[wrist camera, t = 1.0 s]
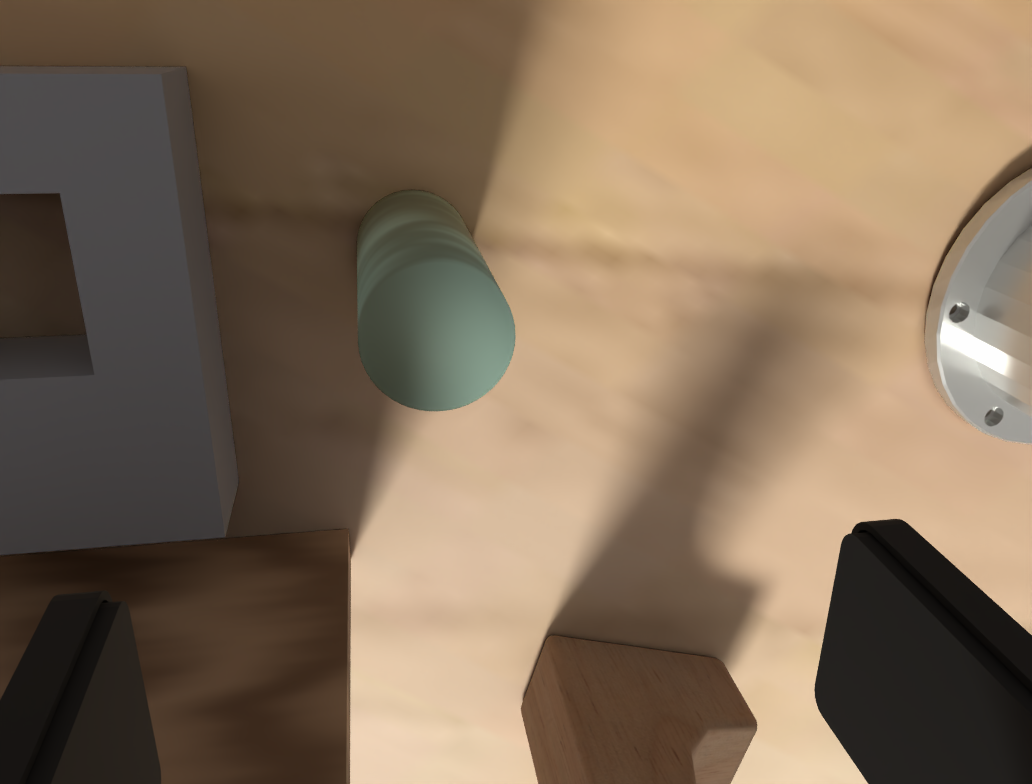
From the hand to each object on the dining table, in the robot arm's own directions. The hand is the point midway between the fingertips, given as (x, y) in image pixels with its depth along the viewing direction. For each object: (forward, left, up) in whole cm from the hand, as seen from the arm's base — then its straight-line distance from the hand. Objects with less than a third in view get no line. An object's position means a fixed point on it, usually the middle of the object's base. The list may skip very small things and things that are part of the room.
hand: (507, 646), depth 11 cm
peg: (0, 0, -22) cm, 22 cm away
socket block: (+13, +2, -22) cm, 25 cm away
